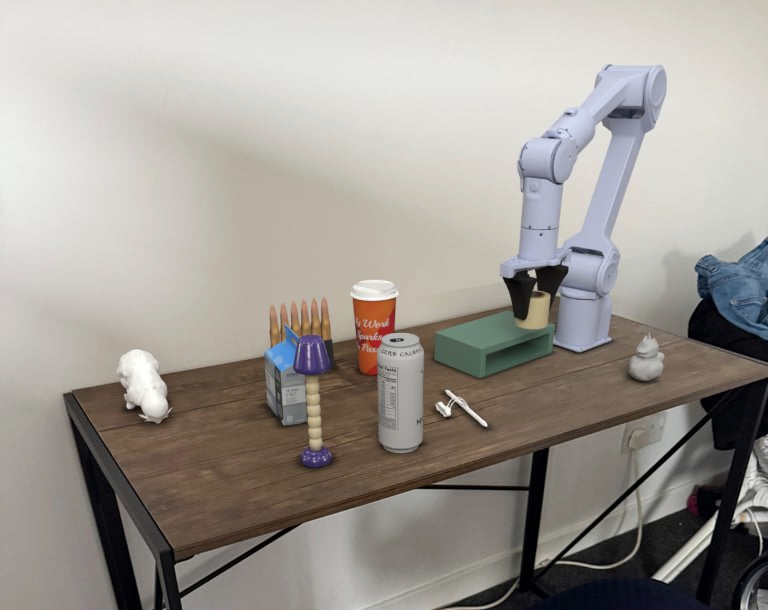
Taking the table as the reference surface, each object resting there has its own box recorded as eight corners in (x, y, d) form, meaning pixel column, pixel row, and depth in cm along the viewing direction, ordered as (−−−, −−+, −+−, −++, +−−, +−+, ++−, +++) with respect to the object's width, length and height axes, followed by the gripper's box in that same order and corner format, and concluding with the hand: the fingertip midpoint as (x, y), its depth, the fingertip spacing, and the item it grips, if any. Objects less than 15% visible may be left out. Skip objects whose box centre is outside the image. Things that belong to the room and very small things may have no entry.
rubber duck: (617, 377, 123) (625, 329, 118) (646, 369, 125) (654, 321, 121) (643, 388, 119) (652, 339, 114) (672, 379, 121) (681, 331, 117)
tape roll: (529, 317, 125) (532, 287, 123) (554, 324, 122) (557, 294, 119) (508, 324, 123) (510, 293, 120) (532, 331, 119) (535, 300, 117)
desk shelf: (505, 336, 140) (507, 310, 137) (552, 352, 132) (555, 324, 130) (434, 360, 130) (434, 332, 128) (479, 378, 123) (481, 349, 120)
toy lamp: (300, 451, 102) (290, 332, 93) (335, 450, 102) (328, 330, 94) (300, 469, 98) (290, 345, 89) (336, 467, 98) (329, 343, 89)
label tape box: (266, 404, 116) (258, 325, 109) (292, 399, 117) (285, 321, 110) (283, 427, 109) (275, 344, 102) (310, 422, 110) (304, 340, 103)
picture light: (489, 428, 107) (490, 414, 106) (461, 433, 106) (462, 419, 105) (447, 392, 118) (448, 379, 117) (422, 396, 117) (422, 383, 116)
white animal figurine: (153, 341, 114) (175, 374, 106) (161, 391, 119) (183, 427, 111) (110, 349, 112) (129, 383, 103) (120, 400, 117) (140, 436, 109)
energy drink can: (428, 451, 102) (430, 344, 94) (386, 458, 100) (384, 349, 92) (414, 432, 107) (415, 329, 99) (373, 438, 105) (371, 334, 97)
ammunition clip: (330, 364, 129) (327, 294, 123) (335, 368, 128) (331, 297, 121) (271, 375, 125) (264, 304, 119) (275, 379, 124) (268, 307, 117)
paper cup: (345, 373, 125) (341, 289, 118) (364, 358, 131) (361, 276, 124) (389, 380, 123) (388, 294, 115) (406, 363, 129) (406, 281, 121)
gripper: (528, 238, 108) (520, 330, 115) (591, 223, 115) (580, 310, 123) (491, 230, 112) (486, 319, 120) (554, 216, 120) (546, 301, 127)
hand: (531, 314), depth 121 cm, fingers closed on tape roll, 5 cm apart
